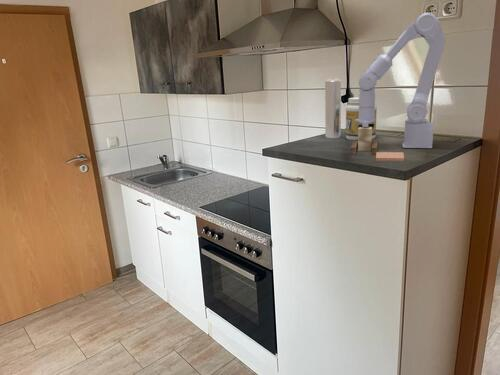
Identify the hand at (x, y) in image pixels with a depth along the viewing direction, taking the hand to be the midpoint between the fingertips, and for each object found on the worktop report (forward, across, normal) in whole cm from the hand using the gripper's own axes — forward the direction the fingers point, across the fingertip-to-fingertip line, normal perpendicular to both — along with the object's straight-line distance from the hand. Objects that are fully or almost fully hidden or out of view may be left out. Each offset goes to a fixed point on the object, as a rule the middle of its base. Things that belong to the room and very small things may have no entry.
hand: (365, 143), depth 146 cm
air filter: (+1, -21, -15) cm, 26 cm away
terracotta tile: (+1, +20, +8) cm, 22 cm away
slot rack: (+1, +9, 0) cm, 9 cm away
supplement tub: (+1, -17, -3) cm, 18 cm away
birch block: (+1, +7, 0) cm, 7 cm away
